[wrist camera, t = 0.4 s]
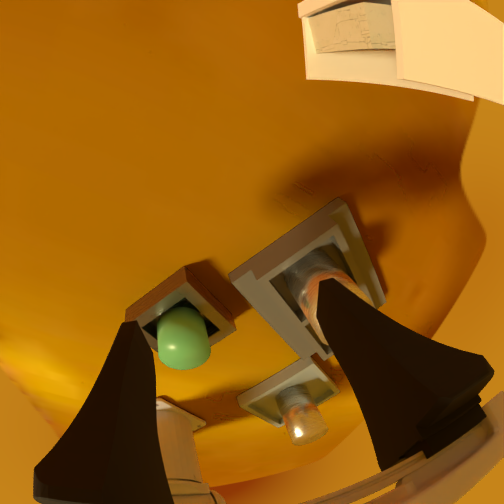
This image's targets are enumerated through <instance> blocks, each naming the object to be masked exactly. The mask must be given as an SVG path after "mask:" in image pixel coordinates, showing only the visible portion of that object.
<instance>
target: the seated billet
mask: <svg viewBox="0 0 504 504" xmlns="http://www.w3.org/2000/svg"><path fill="white" fill-rule="evenodd" d="M329 278H334V279H336V280H337V281H338V282H340V283H341V284H342V285H344V286H345V287H346V288H348V289H349V290H350V291H352V292H353V293H354V294H356V295H357V296H358V297H360V298H361V299H363V300H364V301H365V302H367V303H368V304H370V305H371V306H372V307H374V306H373V303H372V301H371V300H370V299H369V298H368V297H367V296H366V295H365V294H364V292H363V291H362V290H361V289H360V288H359V287H358V286H357V285H356V284H355V283H354V282H353V280H352V279H351V278H350V277H349V276H348V275H347V274H346V273H345V272H344V271H343V270H342V269H341V267H340V266H339V265H338V264H337V263H336V262H335V261H334V260H333V259H332V258H331V257H330V256H329V255H328V254H327V253H326V252H325V251H323V250H320V249H313V250H312V251H310V252H309V253H308V254H306V255H305V256H303V257H302V258H301V259H299V260H298V261H296V262H295V263H294V264H292V265H291V266H289V267H288V268H287V269H286V272H285V283H286V286H287V287H288V289H289V290H290V292H291V294H292V295H293V297H294V298H295V300H296V302H297V303H298V305H299V306H300V308H301V310H302V311H303V313H304V314H305V316H306V318H307V319H308V321H309V322H310V324H311V326H312V327H313V329H314V331H315V332H316V334H317V335H318V337H319V339H320V340H321V342H322V343H324V344H326V345H328V343H327V341H326V339H325V337H324V335H323V333H322V330H321V328H320V325H319V323H318V320H317V318H316V311H317V300H318V289H319V281H321V280H325V279H329Z"/></svg>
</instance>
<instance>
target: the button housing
mask: <svg viewBox="0 0 504 504" xmlns="http://www.w3.org/2000/svg"><path fill="white" fill-rule="evenodd" d="M176 307H187V308H191V309H194V310H196V311H197V312H199V313H200V314H201V315H202V317H203V319H204V322H205V326H206V331H207V335H208V339H209V344H210V347H211V346H212V345H214V344H215V343H217V342H219V341H220V340H222V339H223V338H225V337H226V336H228V335H230V334H231V333H233V332H234V331H236V330H237V329H236V326H235V323H234V320H233V317H232V314H231V313H230V312H229V311H228V310H227V309H226V308H225V307H224V306H223V305H222V304H221V303H220V302H219V301H218V300H217V299H216V298H215V297H214V296H213V295H212V294H211V293H210V292H209V291H208V290H207V289H206V288H205V287H204V286H203V285H202V284H201V283H200V282H199V280H198V279H197V278H196V277H195V276H194V275H193V274H192V273H191V272H190V271H189V270H188V269H187V268H186V267H185V266H184V267H182V268H181V269H179V270H178V271H177V272H175V273H174V274H173V275H171V276H170V277H169V278H167V279H166V280H165V281H163V282H162V283H161V284H159V285H158V286H157V287H155V288H154V289H153V290H151V291H150V292H149V293H147V294H146V295H145V296H143V297H142V298H141V299H139V300H138V301H137V302H135V303H134V304H133V305H131V306H130V307H129V308H127V309H126V313H125V322H129V321H135V320H137V322H138V324H139V326H140V328H141V330H142V332H143V334H144V336H145V338H146V340H147V342H148V344H149V346H150V347H151V348H152V349H154V350H155V351H157V352H158V339H157V322H158V319H159V317H160V316H161V315H162V314H163V313H164V312H166V311H167V310H169V309H172V308H176Z"/></svg>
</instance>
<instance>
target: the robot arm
mask: <svg viewBox="0 0 504 504" xmlns="http://www.w3.org/2000/svg"><path fill="white" fill-rule="evenodd" d="M316 318H317V320H318V323H319V325H320V328H321V330H322V333H323V335H324V337H325V339H326V341H327V343H328V345H329V346H330V348H331V350H332V352H333V353H334V355H335V357H336V359H337V360H338V362H339V364H340V366H341V367H342V369H343V371H344V373H345V375H346V376H347V378H348V380H349V382H350V384H351V386H352V388H353V391H354V393H355V395H356V398H357V400H358V403H359V405H360V408H361V410H362V413H363V416H364V418H365V421H366V424H367V427H368V430H369V433H370V436H371V439H372V443H373V446H374V450H375V453H376V457H377V461H378V464H379V467H380V469H381V471H382V472H380V473H378V474H376V475H374V476H372V477H370V478H367V479H365V480H363V481H360V482H358V483H356V484H353V485H351V486H348V487H346V488H343V489H341V490H338V491H336V492H333V493H330V494H327V495H325V496H322V497H319V498H316V499H313V500H310V501H306V502H304V503H300V504H349V503H352V502H354V501H357V500H359V499H361V498H364V497H366V496H368V495H370V494H373V493H375V492H377V491H379V490H381V489H383V488H385V487H387V486H389V485H391V484H393V483H395V482H397V481H398V482H397V483H396V487H395V489H393V490H391V491H389V492H388V493H385V494H383V495H381V496H379V497H377V498H375V499H373V500H371V501H369V502H367V503H365V504H454V503H455V502H457V501H458V500H459V499H460V498H461V497H462V496H464V495H465V494H466V493H467V492H468V491H469V490H470V489H472V488H473V487H474V486H475V485H476V484H477V483H478V482H479V481H480V480H481V479H482V478H483V477H484V476H485V475H487V474H488V473H489V472H490V470H491V469H492V468H494V466H495V465H496V464H497V463H498V462H499V461H500V460H501V459H502V458H503V457H504V392H503V391H501V392H500V393H499V394H497V395H496V396H495V397H494V398H493V399H491V400H490V401H489V402H488V403H487V404H485V405H484V406H483V407H482V408H481V406H480V405H479V403H480V402H481V398H480V397H479V395H478V394H479V393H480V391H481V390H482V389H483V388H484V387H485V386H486V385H487V383H488V382H489V381H490V380H491V378H492V377H493V375H494V370H493V368H492V367H491V366H490V364H489V363H488V362H487V360H486V359H485V358H484V356H483V355H478V354H474V353H470V352H466V351H462V350H459V349H456V348H453V347H450V346H447V345H444V344H441V343H439V342H436V341H434V340H431V339H429V338H427V337H424V336H422V335H420V334H418V333H416V332H414V331H412V330H410V329H408V328H406V327H405V326H403V325H401V324H399V323H397V322H396V321H394V320H392V319H391V318H389V317H388V316H386V315H384V314H383V313H381V312H380V311H378V310H377V309H375V308H374V307H372V306H371V305H370V304H368V303H367V302H365V301H364V300H363V299H361V298H360V297H358V296H357V295H356V294H354V293H353V292H352V291H350V290H349V289H348V288H346V287H345V286H344V285H342V284H341V283H340V282H338V281H337V280H336V279H334V278H329V279H325V280H321V281H319V289H318V300H317V311H316ZM205 425H206V421H204V420H202V419H200V418H198V417H196V416H194V415H192V414H190V413H188V412H186V411H184V410H182V409H180V408H179V407H177V406H175V405H173V404H171V403H169V402H167V401H166V400H164V399H162V398H157V399H156V374H155V365H154V357H153V352H152V350H151V348H150V346H149V344H148V342H147V340H146V338H145V336H144V334H143V332H142V330H141V328H140V326H139V324H138V322H137V320H135V321H129V322H123V323H122V324H121V326H120V328H119V330H118V333H117V335H116V338H115V340H114V342H113V345H112V347H111V349H110V352H109V354H108V356H107V358H106V361H105V363H104V365H103V367H102V370H101V372H100V374H99V376H98V378H97V380H96V382H95V384H94V386H93V388H92V390H91V392H90V394H89V395H88V397H87V399H86V401H85V403H84V404H83V406H82V408H81V409H80V411H79V413H78V414H77V416H76V417H75V419H74V420H73V422H72V423H71V425H70V426H69V428H68V429H67V430H66V432H65V433H64V434H63V436H62V437H61V438H60V440H59V441H58V442H57V443H56V445H55V446H54V447H53V449H52V450H51V451H50V452H49V453H48V454H47V455H46V456H45V457H44V458H43V459H42V460H41V461H40V462H39V463H38V465H36V466H35V468H34V483H33V485H34V486H33V488H34V489H33V497H34V499H35V500H36V501H37V502H39V503H41V504H226V502H225V500H224V498H223V497H222V496H221V495H220V494H218V493H217V492H216V491H215V490H210V489H209V485H208V483H203V480H202V476H201V471H200V467H199V462H198V457H197V452H196V448H195V442H194V437H193V431H195V430H197V429H199V428H201V427H203V426H205Z"/></svg>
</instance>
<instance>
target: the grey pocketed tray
mask: <svg viewBox="0 0 504 504" xmlns="http://www.w3.org/2000/svg"><path fill="white" fill-rule="evenodd" d="M313 249H320V250H323V251H325V252H326V253H327V254H328V255H329V256H330V257H331V258H332V259H333V260H334V261H335V262H336V263H337V264H338V265H339V266H340V267H341V269H342V270H343V271H344V272H345V273H346V274H347V275H348V276H349V277H350V278H351V279H352V280H353V282H354V283H355V284H356V285H357V286H358V287H359V288H360V289H361V290H362V291H363V292H364V294H365V295H366V296H367V297H368V298H369V299H370V300H371V301H372V303H373V306H374V308H375V309H378V308H379V307H380V306H382V305H383V304H384V303H386V299H385V296H384V293H383V291H382V288H381V285H380V283H379V280H378V277H377V275H376V272H375V269H374V267H373V264H372V262H371V259H370V257H369V254H368V252H367V249H366V247H365V244H364V242H363V240H362V237H361V235H360V233H359V230H358V228H357V226H356V223H355V221H354V219H353V216H352V214H351V212H350V210H349V207H348V205H347V203H346V202H345V201H343V200H342V199H340V198H339V197H337V198H336V199H334V200H333V201H332V202H330V203H329V204H327V205H326V206H324V207H323V208H322V209H320V210H319V211H317V212H316V213H315V214H313V215H312V216H310V217H309V218H307V219H306V220H305V221H303V222H302V223H300V224H299V225H298V226H296V227H295V228H293V229H292V230H290V231H289V232H288V233H286V234H285V235H283V236H282V237H281V238H279V239H278V240H276V241H275V242H273V243H272V244H271V245H269V246H268V247H266V248H265V249H263V250H262V251H261V252H259V253H258V254H256V255H255V256H253V257H252V258H251V259H249V260H248V261H246V262H245V263H244V264H242V265H241V266H239V267H238V268H236V269H235V270H234V271H232V272H231V273H229V274H228V275H229V277H230V280H231V283H232V284H233V285H234V286H235V287H236V289H237V290H238V291H239V292H240V293H241V294H242V295H243V296H244V297H245V298H246V300H247V301H248V302H249V303H250V304H251V305H252V306H253V307H254V308H255V309H256V310H257V312H258V313H259V314H260V315H261V316H262V317H263V318H264V319H265V320H266V321H267V322H268V323H269V324H270V326H271V327H272V328H273V329H274V330H275V331H276V332H277V333H278V334H279V335H280V336H281V337H282V338H283V339H284V340H285V342H286V343H287V344H288V345H289V346H290V347H291V348H292V349H293V350H294V351H295V352H296V353H297V354H298V355H299V356H300V357H301V358H302V359H303V360H305V359H307V358H308V357H310V356H311V355H313V354H314V353H316V352H317V353H318V355H319V356H320V357H321V358H322V359H323V360H324V361H325V360H326V359H328V358H329V357H331V356H332V355H334V353H333V352H332V350H331V348H330V346H329V345H326V344H324V343H322V342H321V340H320V339H319V337H318V335H317V334H316V332H315V331H314V329H313V327H312V326H311V324H310V322H309V321H308V319H307V318H306V316H305V314H304V313H303V311H302V310H301V308H300V306H299V305H298V303H297V302H296V300H295V298H294V297H293V295H292V294H291V292H290V290H289V289H288V287H287V286H286V283H285V272H286V269H287V268H288V267H289V266H291V265H292V264H294V263H295V262H296V261H298V260H299V259H301V258H302V257H303V256H305V255H306V254H308V253H309V252H310V251H312V250H313Z"/></svg>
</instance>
